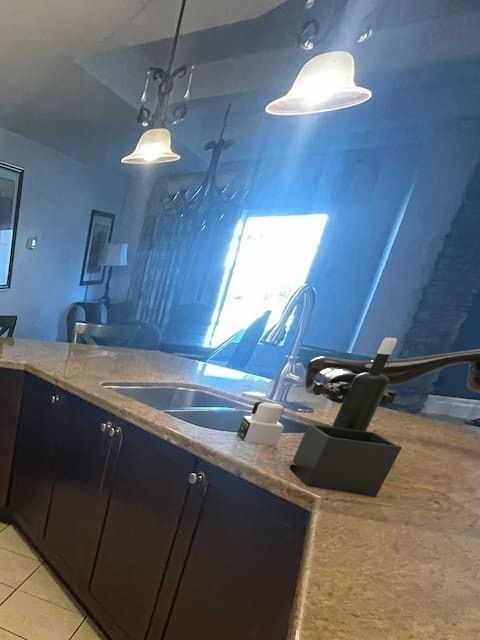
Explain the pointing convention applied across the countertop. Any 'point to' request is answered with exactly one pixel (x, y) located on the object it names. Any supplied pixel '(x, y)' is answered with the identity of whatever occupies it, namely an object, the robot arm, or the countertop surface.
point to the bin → (344, 459)
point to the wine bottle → (365, 392)
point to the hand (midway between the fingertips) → (361, 397)
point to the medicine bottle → (262, 424)
